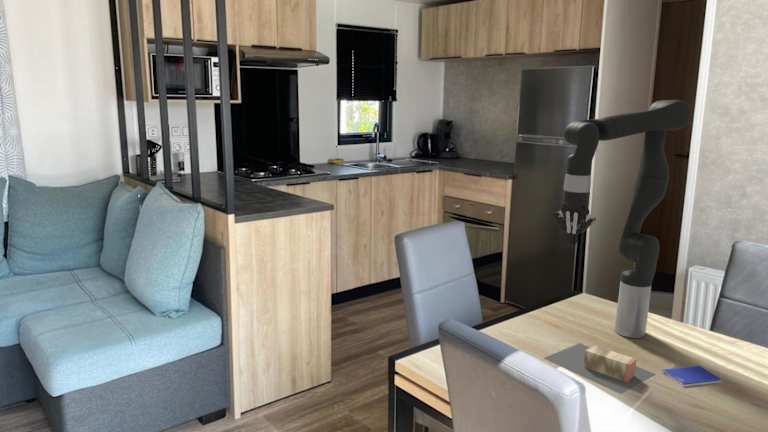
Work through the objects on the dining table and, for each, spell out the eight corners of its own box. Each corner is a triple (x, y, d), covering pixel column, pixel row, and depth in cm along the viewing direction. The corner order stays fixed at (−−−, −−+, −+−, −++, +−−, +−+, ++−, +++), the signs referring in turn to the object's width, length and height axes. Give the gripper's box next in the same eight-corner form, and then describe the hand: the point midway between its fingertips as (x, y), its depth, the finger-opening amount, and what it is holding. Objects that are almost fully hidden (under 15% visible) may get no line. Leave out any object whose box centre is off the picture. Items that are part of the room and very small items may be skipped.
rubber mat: (579, 344, 175) (579, 343, 174) (655, 376, 156) (655, 374, 156) (543, 360, 164) (543, 358, 164) (620, 395, 145) (620, 393, 145)
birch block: (585, 350, 158) (629, 365, 150) (592, 345, 162) (636, 359, 154) (583, 366, 159) (627, 382, 151) (590, 361, 163) (634, 375, 155)
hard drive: (683, 383, 150) (721, 378, 153) (661, 368, 158) (698, 364, 161) (682, 388, 151) (721, 384, 154) (661, 373, 159) (698, 370, 161)
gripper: (603, 190, 167) (598, 246, 171) (561, 185, 176) (557, 238, 180) (593, 193, 162) (587, 251, 166) (550, 187, 171) (546, 243, 175)
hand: (571, 244), depth 173 cm, fingers closed
